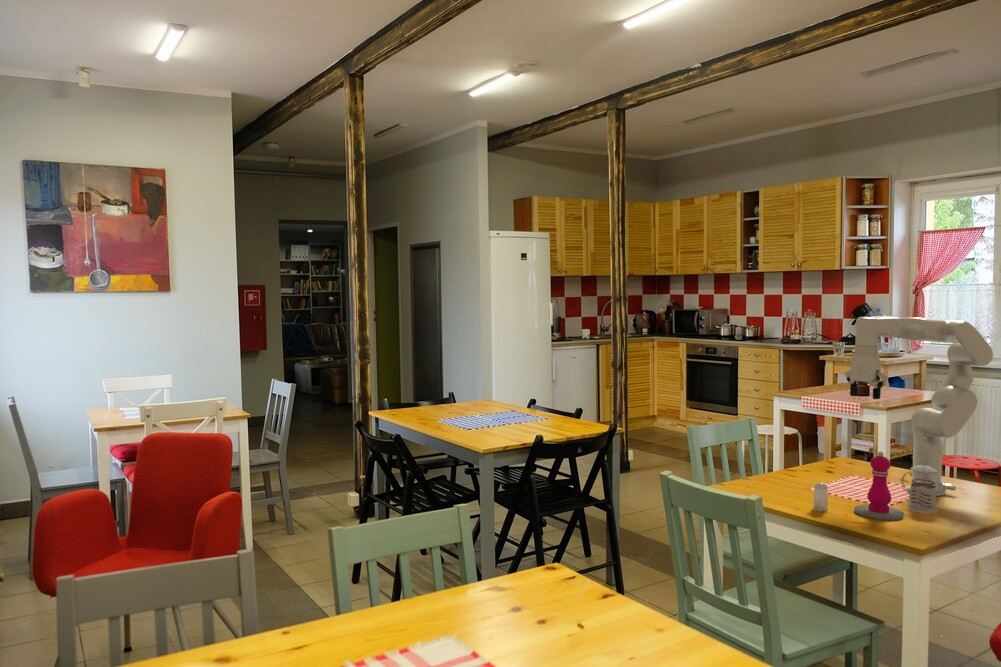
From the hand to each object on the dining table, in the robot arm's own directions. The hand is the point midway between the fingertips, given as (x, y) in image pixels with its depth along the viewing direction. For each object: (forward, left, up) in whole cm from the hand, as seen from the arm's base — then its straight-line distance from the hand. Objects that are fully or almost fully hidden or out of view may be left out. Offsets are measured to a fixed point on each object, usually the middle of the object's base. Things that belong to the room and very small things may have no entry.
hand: (864, 397), depth 281 cm
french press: (-18, +11, -36) cm, 42 cm away
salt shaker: (+13, +28, -36) cm, 48 cm away
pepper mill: (-5, +25, -35) cm, 43 cm away
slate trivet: (-5, +25, -36) cm, 44 cm away
